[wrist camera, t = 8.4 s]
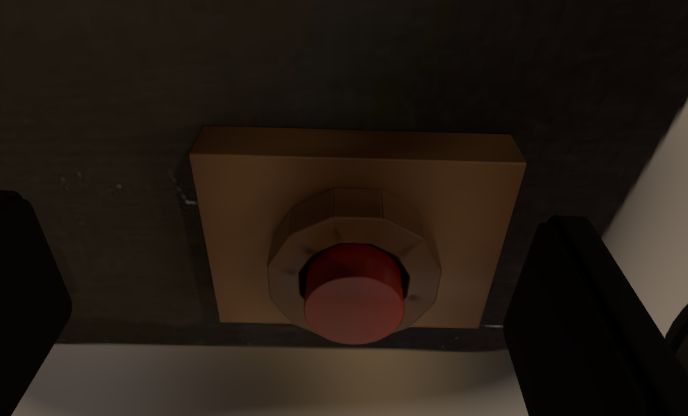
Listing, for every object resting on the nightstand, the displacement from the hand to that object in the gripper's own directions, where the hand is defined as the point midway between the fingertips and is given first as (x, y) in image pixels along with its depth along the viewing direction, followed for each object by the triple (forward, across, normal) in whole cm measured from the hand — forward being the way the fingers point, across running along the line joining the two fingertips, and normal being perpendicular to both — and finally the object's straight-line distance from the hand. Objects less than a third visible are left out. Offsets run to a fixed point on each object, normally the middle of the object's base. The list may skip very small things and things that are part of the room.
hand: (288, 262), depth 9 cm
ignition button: (+7, -2, +7) cm, 10 cm away
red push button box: (+10, -2, +7) cm, 12 cm away
